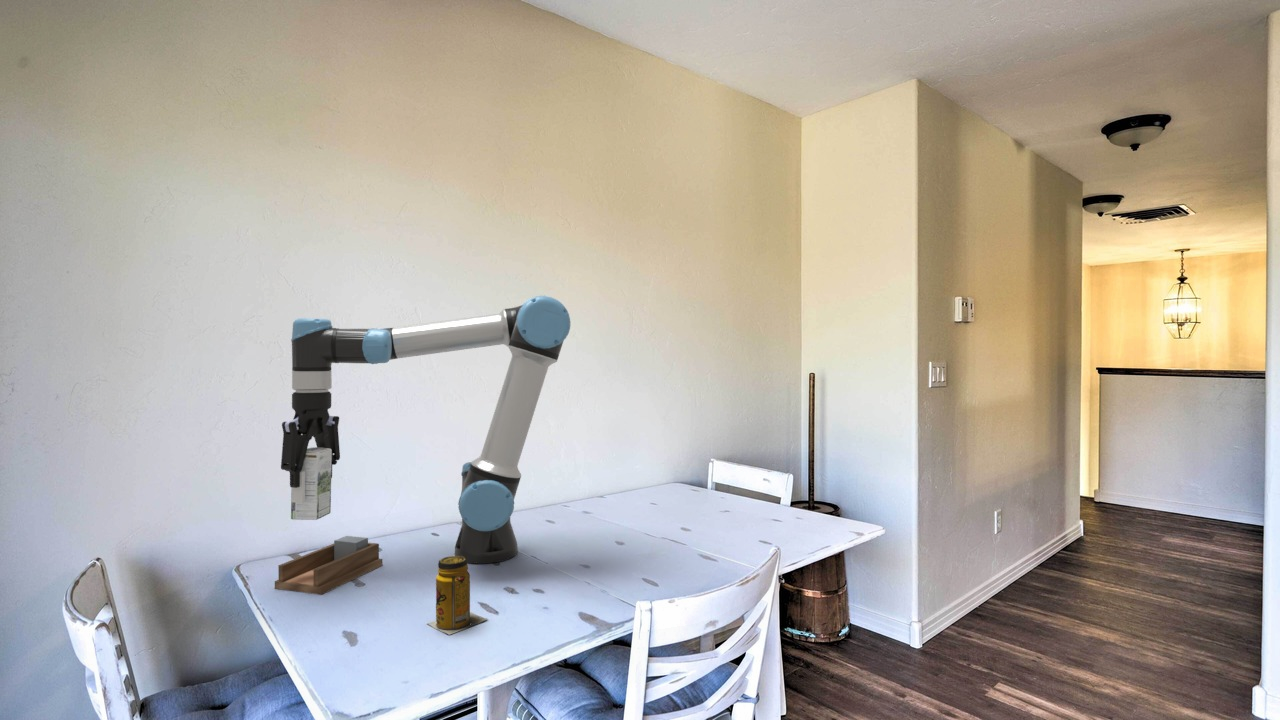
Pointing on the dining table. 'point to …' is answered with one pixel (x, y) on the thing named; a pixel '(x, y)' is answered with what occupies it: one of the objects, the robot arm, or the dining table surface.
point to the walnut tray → (326, 569)
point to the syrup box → (315, 485)
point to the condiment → (453, 596)
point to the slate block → (348, 546)
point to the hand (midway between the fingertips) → (311, 498)
